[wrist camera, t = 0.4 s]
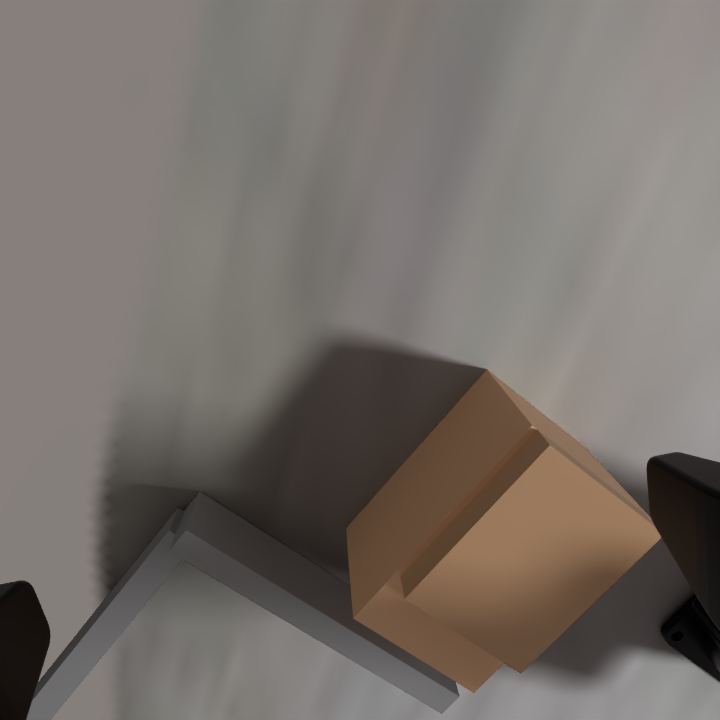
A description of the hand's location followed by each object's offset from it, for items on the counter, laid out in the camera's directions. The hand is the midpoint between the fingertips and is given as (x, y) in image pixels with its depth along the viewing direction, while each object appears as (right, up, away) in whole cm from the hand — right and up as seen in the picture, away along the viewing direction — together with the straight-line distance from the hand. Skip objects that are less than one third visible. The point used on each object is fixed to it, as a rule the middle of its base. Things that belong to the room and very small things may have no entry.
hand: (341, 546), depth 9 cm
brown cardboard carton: (+4, -2, +15) cm, 15 cm away
